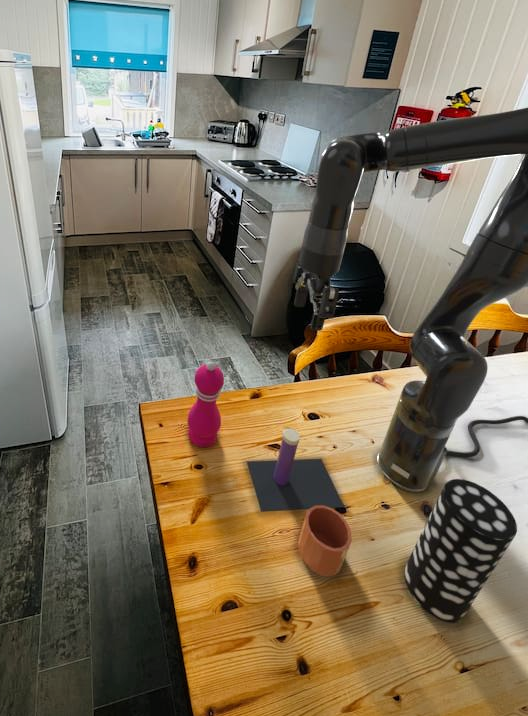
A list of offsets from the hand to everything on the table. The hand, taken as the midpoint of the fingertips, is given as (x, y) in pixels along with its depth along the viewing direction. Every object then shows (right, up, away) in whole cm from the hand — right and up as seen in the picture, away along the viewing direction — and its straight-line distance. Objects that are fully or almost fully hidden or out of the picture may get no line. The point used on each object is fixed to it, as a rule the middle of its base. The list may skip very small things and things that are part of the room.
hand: (306, 317), depth 81 cm
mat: (-4, -32, -4) cm, 33 cm away
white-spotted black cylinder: (+13, -40, -19) cm, 46 cm away
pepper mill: (-21, -27, +5) cm, 35 cm away
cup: (-3, -37, -15) cm, 40 cm away
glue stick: (-6, -31, -4) cm, 32 cm away
